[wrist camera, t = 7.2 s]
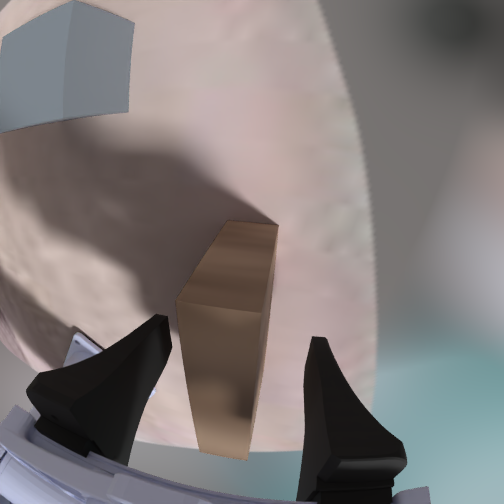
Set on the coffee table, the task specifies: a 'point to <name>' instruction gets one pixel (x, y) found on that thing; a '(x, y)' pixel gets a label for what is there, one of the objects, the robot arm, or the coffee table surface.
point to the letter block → (65, 67)
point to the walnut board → (228, 335)
